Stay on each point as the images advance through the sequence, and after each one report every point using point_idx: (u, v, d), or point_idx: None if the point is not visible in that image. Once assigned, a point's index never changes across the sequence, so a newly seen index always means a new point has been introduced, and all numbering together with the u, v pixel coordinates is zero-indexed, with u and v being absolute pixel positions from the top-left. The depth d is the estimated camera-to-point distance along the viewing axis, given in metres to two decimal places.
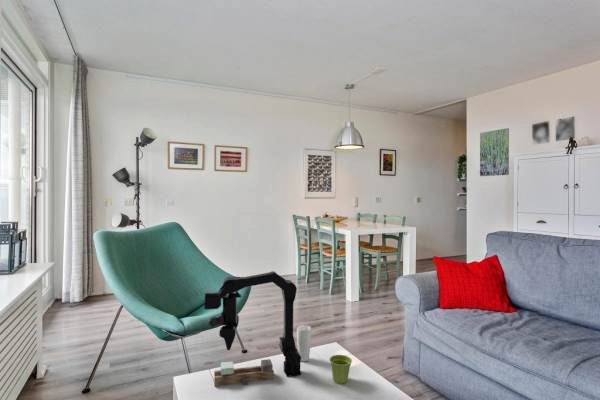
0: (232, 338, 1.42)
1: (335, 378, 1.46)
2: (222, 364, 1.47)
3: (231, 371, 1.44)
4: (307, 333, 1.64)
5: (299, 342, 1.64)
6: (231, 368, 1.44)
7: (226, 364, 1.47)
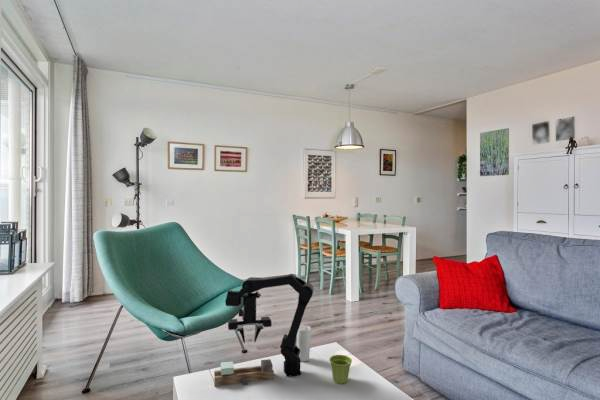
0: None
1: (335, 378, 1.46)
2: (222, 364, 1.47)
3: (231, 371, 1.44)
4: (307, 333, 1.64)
5: (299, 342, 1.64)
6: (231, 368, 1.44)
7: (226, 364, 1.47)
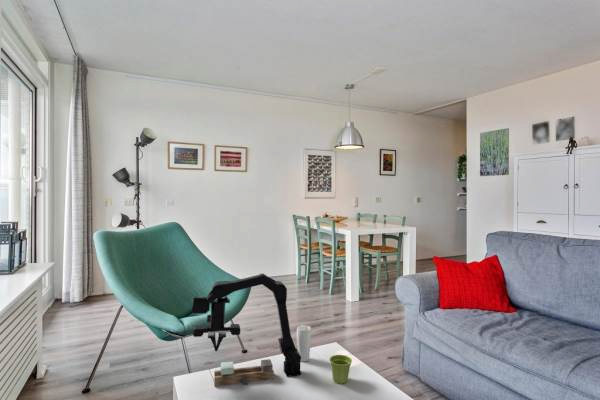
0: None
1: (335, 378, 1.46)
2: (222, 364, 1.47)
3: (231, 371, 1.44)
4: (307, 333, 1.64)
5: (299, 342, 1.64)
6: (231, 368, 1.44)
7: (226, 364, 1.47)
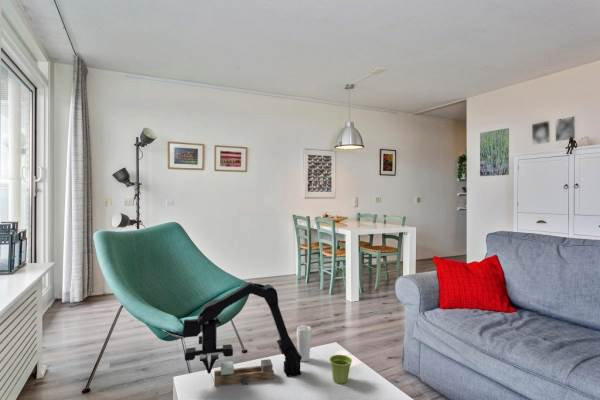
0: None
1: (335, 378, 1.46)
2: (222, 364, 1.47)
3: (231, 371, 1.44)
4: (307, 333, 1.64)
5: (299, 342, 1.64)
6: (231, 368, 1.44)
7: (226, 364, 1.47)
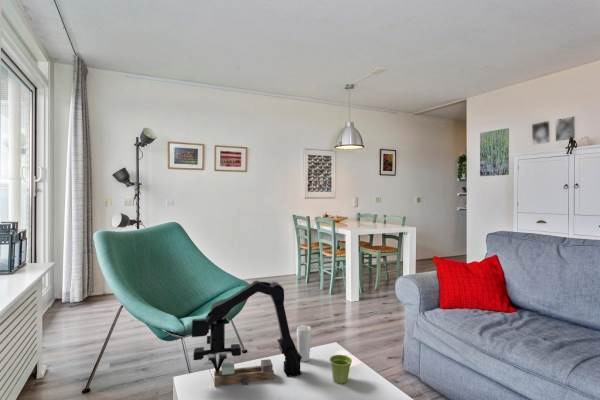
0: None
1: (335, 378, 1.46)
2: (223, 364, 1.47)
3: (232, 371, 1.44)
4: (307, 333, 1.64)
5: (299, 342, 1.64)
6: (231, 368, 1.44)
7: (226, 364, 1.47)
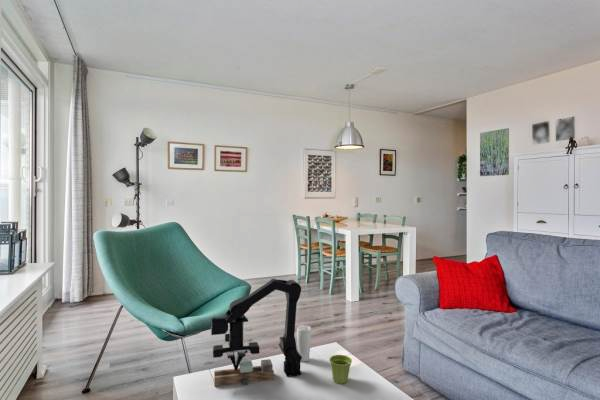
0: None
1: (335, 378, 1.46)
2: (241, 362, 1.49)
3: (250, 369, 1.46)
4: (307, 333, 1.64)
5: (299, 342, 1.64)
6: (250, 366, 1.46)
7: (244, 362, 1.49)
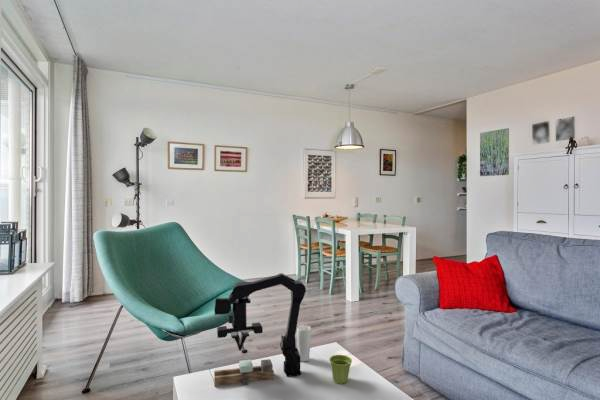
0: None
1: (335, 378, 1.46)
2: (241, 362, 1.49)
3: (250, 369, 1.46)
4: (307, 333, 1.64)
5: (299, 342, 1.64)
6: (250, 366, 1.46)
7: (244, 362, 1.49)
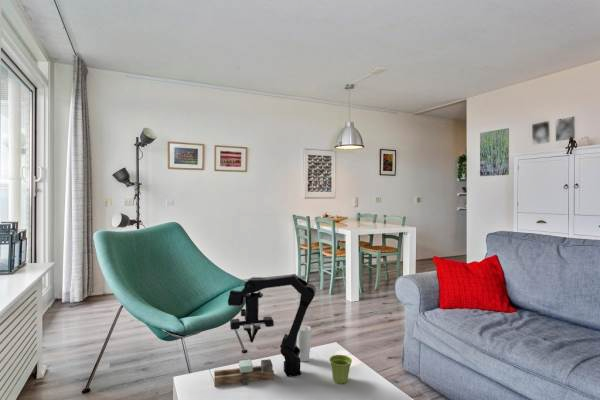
0: None
1: (335, 378, 1.46)
2: (241, 362, 1.49)
3: (250, 369, 1.46)
4: (307, 333, 1.64)
5: (299, 342, 1.64)
6: (250, 366, 1.46)
7: (244, 362, 1.49)
